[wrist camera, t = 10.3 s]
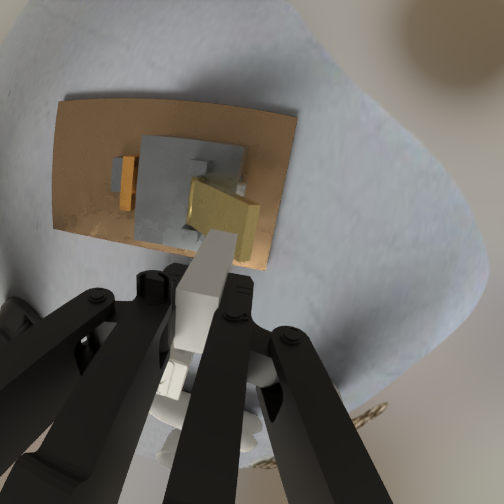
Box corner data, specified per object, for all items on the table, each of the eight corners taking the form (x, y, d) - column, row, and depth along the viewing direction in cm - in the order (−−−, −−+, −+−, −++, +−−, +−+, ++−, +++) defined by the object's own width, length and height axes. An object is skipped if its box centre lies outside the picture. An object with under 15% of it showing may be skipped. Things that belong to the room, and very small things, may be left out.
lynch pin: (134, 201, 33) (119, 209, 29) (139, 153, 31) (123, 156, 27) (240, 218, 34) (237, 230, 30) (249, 168, 31) (247, 172, 27)
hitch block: (57, 226, 39) (13, 252, 28) (63, 101, 31) (12, 99, 21) (265, 266, 39) (264, 313, 29) (296, 118, 32) (310, 109, 21)
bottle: (269, 416, 48) (118, 353, 45) (254, 458, 42) (99, 396, 40) (253, 415, 55) (123, 360, 52) (240, 451, 50) (107, 397, 47)
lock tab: (194, 221, 27) (183, 221, 27) (200, 176, 26) (189, 175, 25) (250, 261, 21) (237, 263, 20) (262, 203, 19) (248, 203, 19)
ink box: (154, 294, 42) (124, 341, 31) (206, 312, 43) (189, 365, 32) (148, 334, 45) (123, 382, 35) (194, 350, 46) (179, 402, 35)
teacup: (205, 450, 60) (200, 481, 51) (157, 425, 57) (146, 457, 48) (235, 437, 57) (232, 472, 47) (183, 410, 53) (173, 447, 44)
